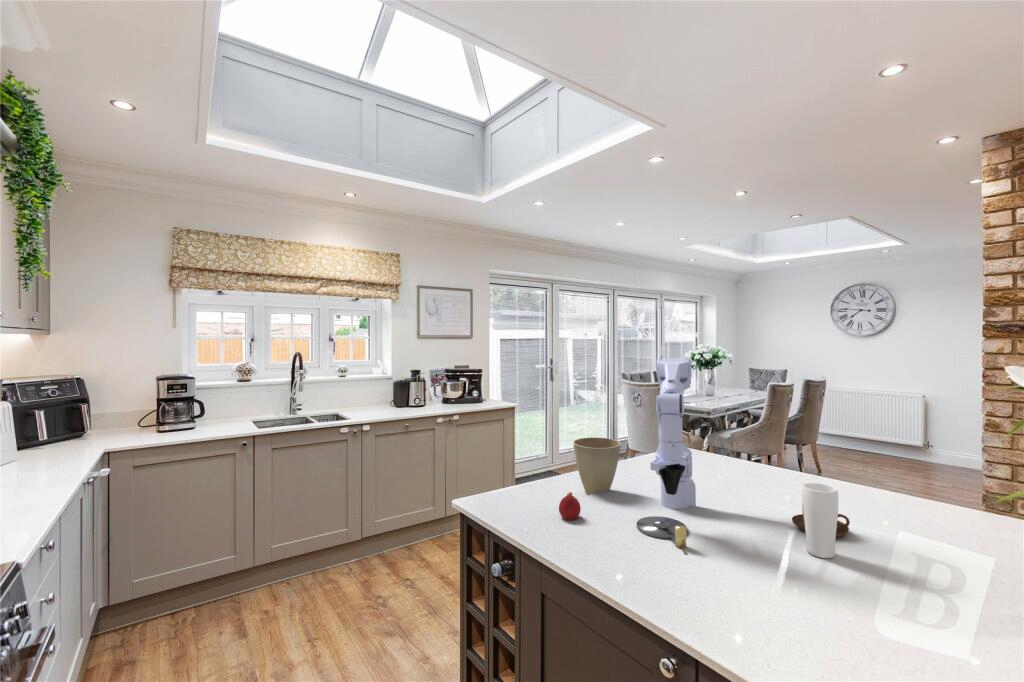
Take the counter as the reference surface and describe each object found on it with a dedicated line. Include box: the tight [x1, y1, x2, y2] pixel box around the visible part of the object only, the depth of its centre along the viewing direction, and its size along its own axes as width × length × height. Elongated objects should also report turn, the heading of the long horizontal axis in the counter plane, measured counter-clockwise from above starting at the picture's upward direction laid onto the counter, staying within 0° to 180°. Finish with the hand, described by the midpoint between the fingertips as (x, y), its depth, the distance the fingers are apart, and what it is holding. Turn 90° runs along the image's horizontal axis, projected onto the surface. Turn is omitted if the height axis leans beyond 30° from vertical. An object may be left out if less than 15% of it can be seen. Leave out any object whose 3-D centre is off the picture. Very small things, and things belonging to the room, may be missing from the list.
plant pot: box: [572, 436, 621, 495], centre depth 149 cm, size 15×15×16 cm
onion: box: [558, 491, 582, 521], centre depth 125 cm, size 6×6×8 cm
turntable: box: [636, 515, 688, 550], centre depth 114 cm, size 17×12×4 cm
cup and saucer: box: [791, 503, 851, 537], centre depth 118 cm, size 12×12×6 cm
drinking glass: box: [801, 482, 839, 559], centre depth 105 cm, size 7×7×15 cm
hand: (671, 493), depth 119 cm, fingers closed
